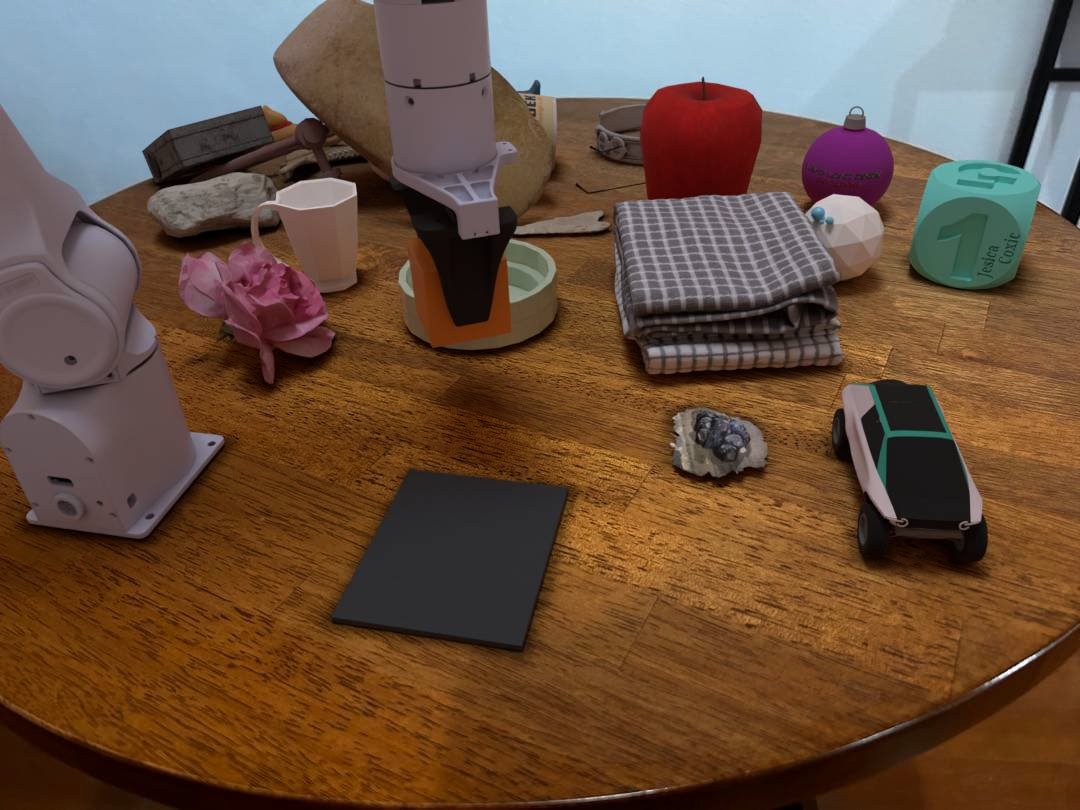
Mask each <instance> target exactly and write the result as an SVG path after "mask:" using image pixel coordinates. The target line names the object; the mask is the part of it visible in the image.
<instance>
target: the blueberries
mask: <svg viewBox="0 0 1080 810" xmlns="http://www.w3.org/2000/svg"><path fill="white" fill-rule="evenodd" d="M671 420H674V421H673V423H674V426H673V428H671V429H673V430H674V432H675V433H677V434H678V436H677V435H675V434H673V433H671V435H672V436H673V437H674V438H675V439H674V440H675V442H672V441H670V442H669V445H670V446H671V448H674V449H673V450H672V451H673V453H672V456H671V458H670V460H672V465H673V466H675V467H676V468H679V469H680V470H681V471H686V472H687V473H691V474H692V475H693V474H694V475H696V477H697V476H699V477H702V476H705V475H706V474H708V473H710V475H711V476H712V477H716V478H722V477H723V476H724V477H726V476H727V475H728V474H729V473H730V472H735V473H736V474H739V472H744V468H747V467H749V468H750V467H752V468H753V469H754V468H755V469H759V468H765V466H766V465H768V464H769V462H768V461H767V460H766V459H765V458H767V457H768V443H767V442H766V441H764V440H766V438H765V437H764V436H763V431H761V430H760V428H758V426H756V425H754V423H753V422H752V421H749V420H744V419H743V420H742V419H741V417H739V416H737V415H736V416H734V417H733V416H729V415H727V414H726V413H724V412H719V411H716V410H713V409H711V408H709V407H702V406H699V407H695V408H686V409H685V411H680V412H677V414H675V415H674V416H673V417H672V418H671Z"/></svg>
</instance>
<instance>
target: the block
mask: <svg viewBox="0 0 1080 810" xmlns="http://www.w3.org/2000/svg"><path fill="white" fill-rule="evenodd" d="M406 244H407V245H406V246H407V254H408V260H409V262H410V269H411V277H412V284H413V292H414V299H415V307H416V312H417V314H418V316H419V318H420V321H421V323H422V325H423V327H424V330H425V332H426V334H427V337H428V339H429V341H430V343H429V344H430V346H431V348H432V349H434V348H440V347H442V346H446V345H451V344H456V343H461V342H466V341H471V340H476V339H481V338H487V337H492V336H497V335H502V334H507V333H511V332H512V330H511V314H510V298H509V282H508V266H507V258H506V257H505V255H504V254H503V257H502V259H501V262H500V266H499V269H498V274H497V279H496V284H495V290H494V296H493V302H492V308H491V312H490V316H489V320H488V321H486V322H481V323H476V324H470V325H465V326H460V327H457V326H455V324H454V322H453V320H452V318H451V315H450V313H449V310H448V308H447V305H446V302H445V298H444V294H443V291H442V287H441V283H440V279H439V276H438V273H437V270H436V267H435V264H434V261H433V259H432V257H431V255H430V252H429V251H428V249H427V248H426V246H425V245H424V244H423V242H422V241H421V239H420V238H418V237H413V238H408V239H406Z"/></svg>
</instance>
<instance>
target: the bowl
mask: <svg viewBox="0 0 1080 810" xmlns="http://www.w3.org/2000/svg"><path fill="white" fill-rule="evenodd" d="M504 255H505V257H506V258H507V266H508V282H509V298H510V314H511V330H512V332H511V333H507V334H502V335H497V336H492V337H487V338H481V339H476V340H471V341H466V342H461V343H456V344H451V345H446V346H441V347H442V348H446V349H455V350H467V351H473V350H474V351H475V350H489V349H499V348H503V347H506V346H510V345H514V344H519V343H521V342H524V341H526V340H528V339H530V338H532V337H535V336H536V335H538V334H540V333H542V332H543V331H544V330H545V329H546V328H547V327H548V326H549V325H550V324H552V323H553V321H554V319H555V317H556V314H557V312H558V310H559V309H558V308H559V304H558V274H557V273H558V269H557V267H556V263H555V262H556V261H555V259H554V258H553V257H552V256H551V255H550V254H549V253H548V252H547V251H546V250H544V249H543V248H541V247H539V246H536V245H534V244H532V243H529V242H527V241H522V240H516V239H513V238H511V239H510V241H509V243H508V245H507V247H506V249H505V251H504ZM397 282H398V289H399V290H398V291H399V296H400V303H401V311H402V317H403V322H404V324H405V325H406V327H407V329H408V330H409V331H410V333H411V334H413V335H414V336H415V337H417V338H419V339H421V340H422V341H423V342H426V343H428V344H431V343H430V341H429V339H428V337H427V334H426V332H425V330H424V327H423V325H422V323H421V321H420V318H419V316H418V314H417V312H416V307H415V299H414V292H413V284H412V277H411V269H410V262H409V259H407V260H406V262H405V263H403V266H402V267H401V268H400V270H399V271H398V281H397Z"/></svg>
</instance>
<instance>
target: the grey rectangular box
mask: <svg viewBox="0 0 1080 810" xmlns="http://www.w3.org/2000/svg"><path fill="white" fill-rule="evenodd" d="M262 107H263V106H262V105H257V106H253V107H249V108H245V109H241V110H237V111H234V112H230V113H226V114H223V115H219V116H215V117H211V118H207V119H204V120H199V121H196V122H192V123H188V124H185V125H180V126H176V127H172V128H169V129H167V130H166V131H164V132H163V133H162V134H160V135H159V136H158V137H157V138H156V139H155V140H153V141H152V142H151V143H150V144H149V145H147V146H145V148H144V149H142V150H141V153H142V155H143V157H144V160H145V162H146V165H147V166H148V169H149V171H150V174H151V176H152V179H153V181H154V183H155V184H159V183H162V182H165V181H170V180H172V179H176V178H179V177H183V176H186V175H187V176H188V175H190V174H193V173H196V172H200V171H201V172H202V171H203V170H207V169H212V168H215V167H217V166H220V165H222V164H224V163H227V162H229V161H231V160H234V159H236V158H239V157H241V156H243V155H246V154H248V153H251V152H253V151H256V150H258V149H261V148H263V146H265V145H267V144H269V143H272V142H274V139H273V136H272V133H271V131H270V128H269V125H268V123H267V120H266V117H265V115H264V112H263V110H262Z"/></svg>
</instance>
